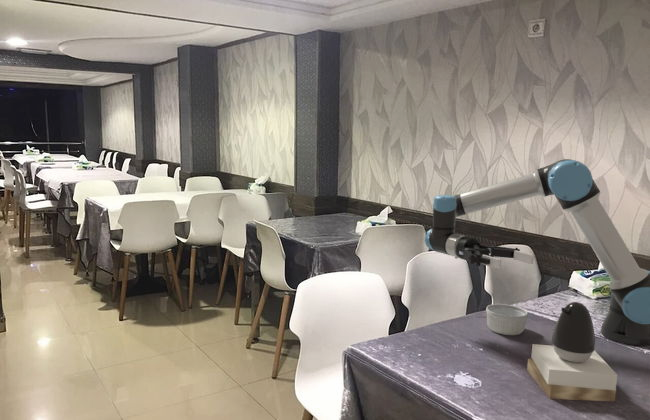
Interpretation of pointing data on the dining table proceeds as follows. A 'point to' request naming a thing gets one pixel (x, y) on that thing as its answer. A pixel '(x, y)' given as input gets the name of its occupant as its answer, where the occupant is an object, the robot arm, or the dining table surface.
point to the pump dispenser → (574, 333)
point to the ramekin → (506, 319)
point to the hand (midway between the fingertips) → (516, 261)
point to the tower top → (573, 370)
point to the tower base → (569, 388)
